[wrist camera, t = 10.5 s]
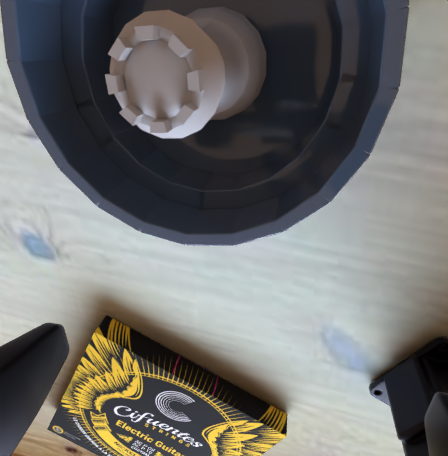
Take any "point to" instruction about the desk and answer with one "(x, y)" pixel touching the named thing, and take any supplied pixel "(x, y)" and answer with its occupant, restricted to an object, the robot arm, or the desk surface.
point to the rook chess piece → (185, 69)
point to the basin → (214, 129)
